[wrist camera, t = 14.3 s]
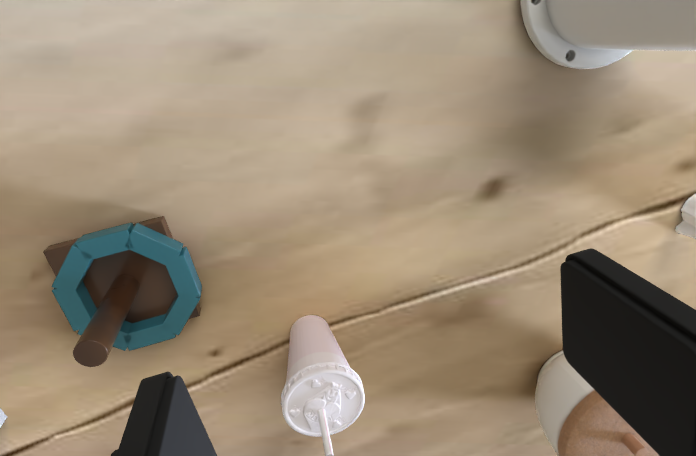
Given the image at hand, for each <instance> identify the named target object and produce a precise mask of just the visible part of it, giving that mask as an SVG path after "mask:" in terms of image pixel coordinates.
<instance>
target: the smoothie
mask: <svg viewBox="0 0 696 456" xmlns="http://www.w3.org/2000/svg"><path fill="white" fill-rule="evenodd" d="M364 402H365V394H364V390H363V385H362V381H361V379H360V377H359V376H358V374H357V373H356V372H355V371H354V370H352V369H351V368H350V366H349V364H348V362H347V360H346V358H345V356H344V354H343V352H342V350H341V349H340V347H339V345H338V343H337V341H336V339H335V337H334V335H333V333H332V331H331V329H330V327H329V325H328V323H327V322H326V321H325V320H324V319H323V318H322V317H320V316H316V315H307V316H304V317H301V318H299V319H298V320H297V321H296V322H295V323H294V324H293V326H292V327H291V331H290V342H289V355H288V367H287V378H286V384H285V386H284V389H283V391H282V394H281V405H282V411H283V416H284V418H285V420H286V422H287V423H288V425H289V426H290V427H291V428H292V429H294V430H295V431H297V432H299V433H301V434H304V435H308V436H317V437H318V436H322V440H323V446H324V451H325V456H334V455H333V449H332V444H331V439H330V435H332V434H335V433H338V432H340V431H342V430H344V429H345V428H347V427H348V426H350V425H351V424H352V423H353V422H354V421H355V420H356V419H357V418H358V417H359V415H360V413H361V412H362V409H363V407H364Z"/></svg>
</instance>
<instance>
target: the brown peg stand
mask: <svg viewBox="0 0 696 456" xmlns="http://www.w3.org/2000/svg"><path fill="white" fill-rule="evenodd" d="M139 224H141V225H143V226H145V227H148V228H150V229H152V230H154V231H156V232H159V233H161V234H163V235H165V236H167V237H169V238H172V235H171V233H170V230H169V228H168V225H167V223H166V220H165V218H164V216H162V217H158V218H154V219H151V220H147V221H143V222H139ZM133 225H134V226H135V225H136V223H135V224H133ZM172 239H173V238H172ZM77 240H78V239H74V240H70V241H66V242H62V243H58V244H55V245H51V246H49V247H48V248H47V249H46V250H45V251H44V254H45V256H46V258H47V260H48V262H49V264H50V266H51V267H52V269H53V271H54V273H55V275H56V277H57V275H58V273H59V271H60V269H61V266H62V264H63V262H64V260H65V258H66V256H67V254H68V252H69V250H70V248H71V246H72V245H73V244H74V243H75V242H76V241H77ZM83 282H84V284H85V286H86V288H87V290H88V292H89V294H90V296H91V298H92V300H93V302H94V304H95V306H96V308H97V310H96V312H95V313H94V315H93V317H92V318H91V320H90V322H89V324H88V325H87V327H86V329H85V330H84V332H83V334H82V336H81V337H80V339H79V341H78V342H77V344H76V346H75V348H74V350H73V356H74V358H75V360H76V361H77V362H78V363H80V364H81V365H84V366H88V367H95V366H99V365H101V364H102V363H104V362H105V361H106V359H107V357H108V355H109V353H110V351H111V348H112V346H113V344H114V342H115V340H116V338H117V335H118V333H119V331H120V329H121V327H122V325H123V322H124V320H125V321H128V322H130V323H135V322H139V321H142V320H146V319H149V318H153V317H156V316H160V315H163V314H166V313H167V311H168V309H169V307H170V306H171V304H172V302H173V300H174V299H175V297H176V295H177V291H176V289H175V287H174V284H173V282H172V279H171V277H170V275H169V272H168V270H167V268H166V265H163V264H161V263H159V262H157V261H154V260H152V259H150V258H147V257H145V256H143V255H140V254H138V253H136V252H133V251H131V250H126V251H123V252H119V253H115V254H111V255H108V256H104V257H100V258H97V259H94V260H93V262H92V264H91V266H90V268H89V269H88V271H87V273H86V275H85V277H84V279H83ZM200 311H201V307H200V305H199V302H198V304H197V305H196V307H195V309H194V310H193V312H192V314H191V315H190V317H189V319H190V318H193V317H197V316H200Z"/></svg>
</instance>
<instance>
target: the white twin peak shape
mask: <svg viewBox="0 0 696 456" xmlns="http://www.w3.org/2000/svg"><path fill="white" fill-rule="evenodd" d="M683 206H684V207H682V208H683V209H681V211H682V213H681V214H682V218H683V221H682V222H681V223H680V224H679V225H677V227H676V228H675V229H676V232H677V233H678V234H683V235H686V236H689V237H692V238H695V239H696V193H695V194H694V195H693V196H692V197H690V198H688V200H687V201H686V202H685V203H684V205H683Z"/></svg>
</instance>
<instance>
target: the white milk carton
mask: <svg viewBox="0 0 696 456" xmlns="http://www.w3.org/2000/svg"><path fill="white" fill-rule="evenodd" d="M6 418H7V416H6V415H5V414H4V412H3V411H2V410H1V408H0V427H1V426H2V424H3V423H4V421H5V420H6Z"/></svg>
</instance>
